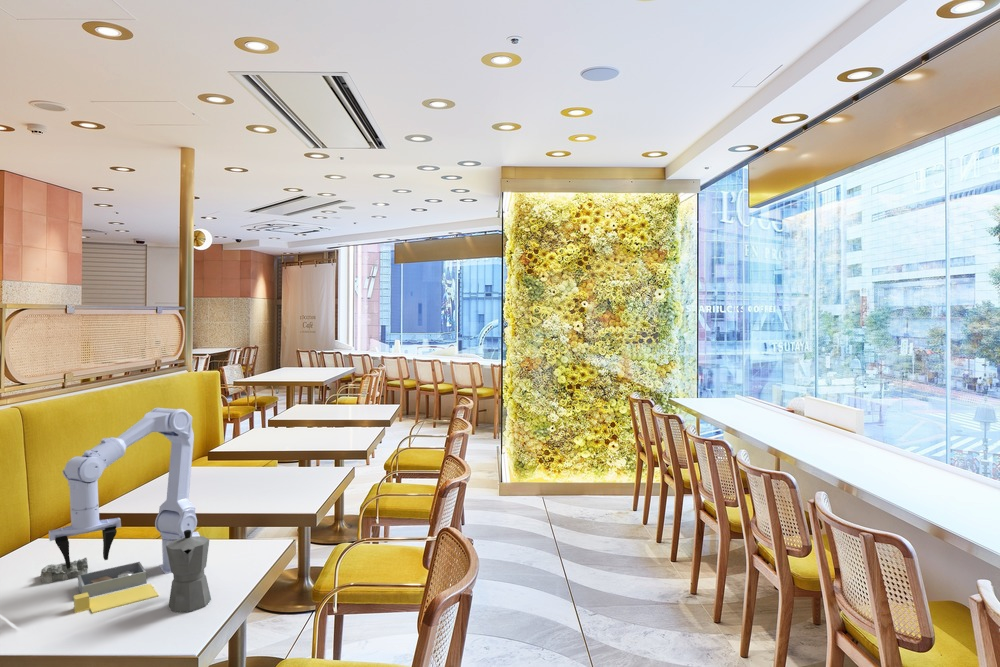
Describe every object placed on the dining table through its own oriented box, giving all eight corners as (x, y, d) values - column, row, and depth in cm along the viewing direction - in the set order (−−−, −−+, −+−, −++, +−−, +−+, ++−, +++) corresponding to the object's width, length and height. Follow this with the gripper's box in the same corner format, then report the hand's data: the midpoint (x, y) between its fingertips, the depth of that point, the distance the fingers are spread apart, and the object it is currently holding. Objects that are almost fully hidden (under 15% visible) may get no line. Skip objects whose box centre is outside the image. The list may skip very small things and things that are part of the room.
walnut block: (107, 584, 170) (107, 575, 170) (112, 587, 169) (112, 578, 168) (90, 589, 167) (90, 581, 167) (95, 592, 165) (95, 583, 165)
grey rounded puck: (132, 578, 174) (132, 569, 174) (135, 582, 171) (134, 573, 171) (116, 581, 172) (116, 573, 172) (119, 586, 169) (118, 577, 169)
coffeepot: (212, 611, 155) (209, 535, 154) (167, 620, 151) (164, 541, 150) (210, 587, 169) (208, 517, 168) (169, 594, 165) (166, 522, 164)
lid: (150, 587, 170) (150, 572, 169) (158, 599, 163) (158, 583, 162) (72, 607, 159) (71, 591, 159) (77, 620, 152) (76, 604, 152)
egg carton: (39, 588, 171) (38, 572, 170) (41, 578, 177) (41, 563, 177) (88, 578, 176) (87, 563, 176) (88, 569, 183) (88, 554, 182)
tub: (139, 574, 178) (139, 561, 178) (146, 585, 171) (146, 571, 170) (78, 588, 169) (77, 575, 169) (82, 600, 162) (82, 586, 162)
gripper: (116, 497, 166) (118, 550, 167) (46, 509, 157) (49, 565, 158) (121, 503, 161) (123, 558, 161) (49, 516, 152) (52, 574, 152)
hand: (87, 562), depth 159 cm, fingers open, 7 cm apart
